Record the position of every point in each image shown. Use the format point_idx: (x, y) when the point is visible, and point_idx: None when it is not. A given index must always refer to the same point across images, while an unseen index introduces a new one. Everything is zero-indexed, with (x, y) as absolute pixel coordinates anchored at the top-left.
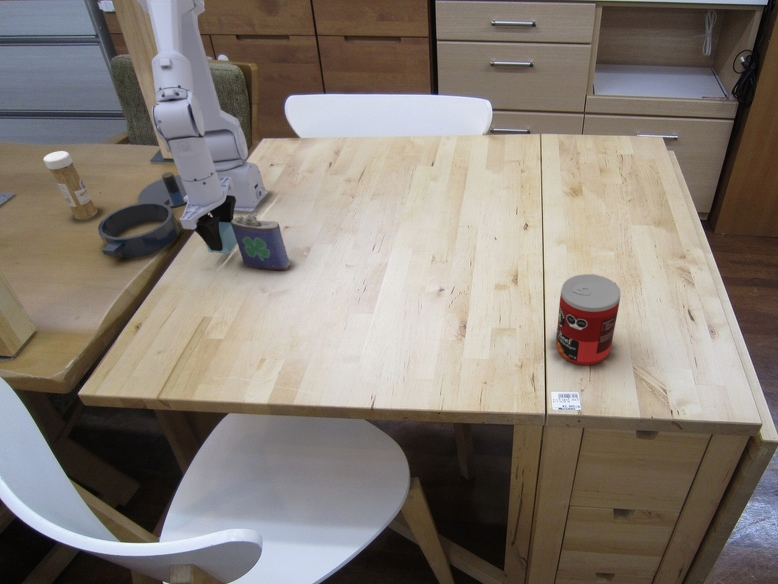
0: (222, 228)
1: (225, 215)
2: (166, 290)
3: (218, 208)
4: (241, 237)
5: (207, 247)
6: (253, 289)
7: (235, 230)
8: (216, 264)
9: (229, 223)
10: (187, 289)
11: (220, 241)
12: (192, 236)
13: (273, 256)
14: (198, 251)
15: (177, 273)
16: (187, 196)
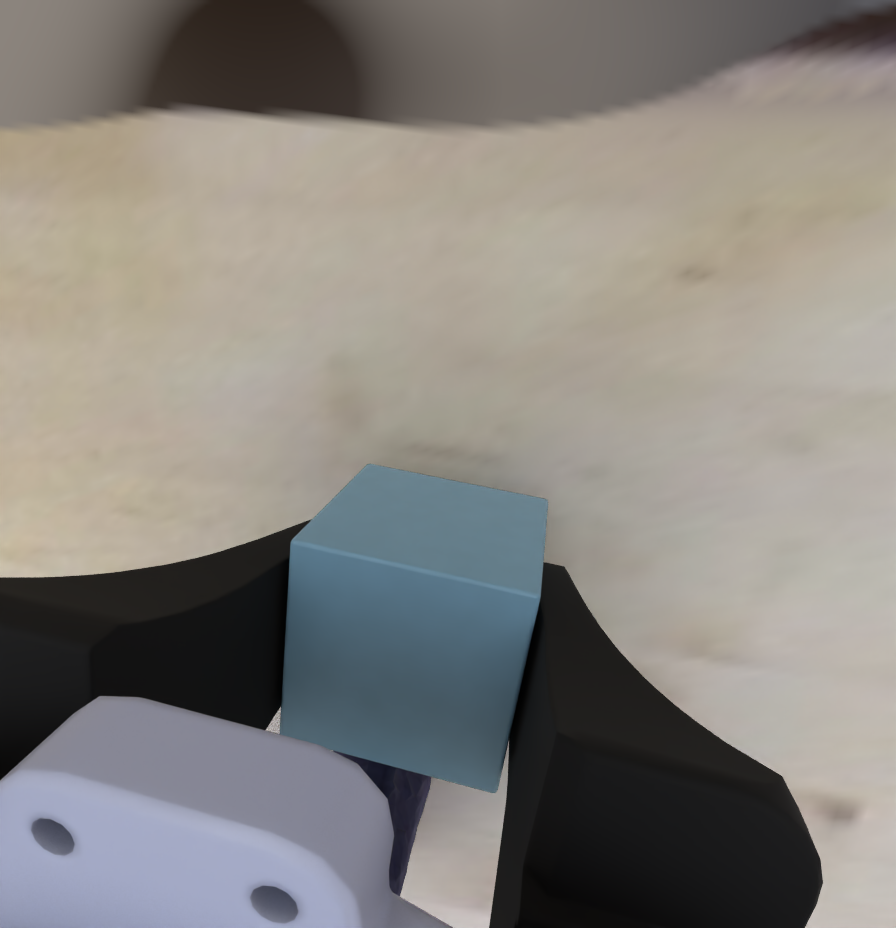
0: (384, 723)
1: (510, 817)
2: (105, 192)
3: (511, 861)
4: None
5: (353, 480)
6: None
7: None
8: (404, 447)
9: (481, 770)
10: (137, 340)
11: None
12: (870, 69)
13: None
14: (583, 245)
15: (289, 187)
16: (136, 867)
